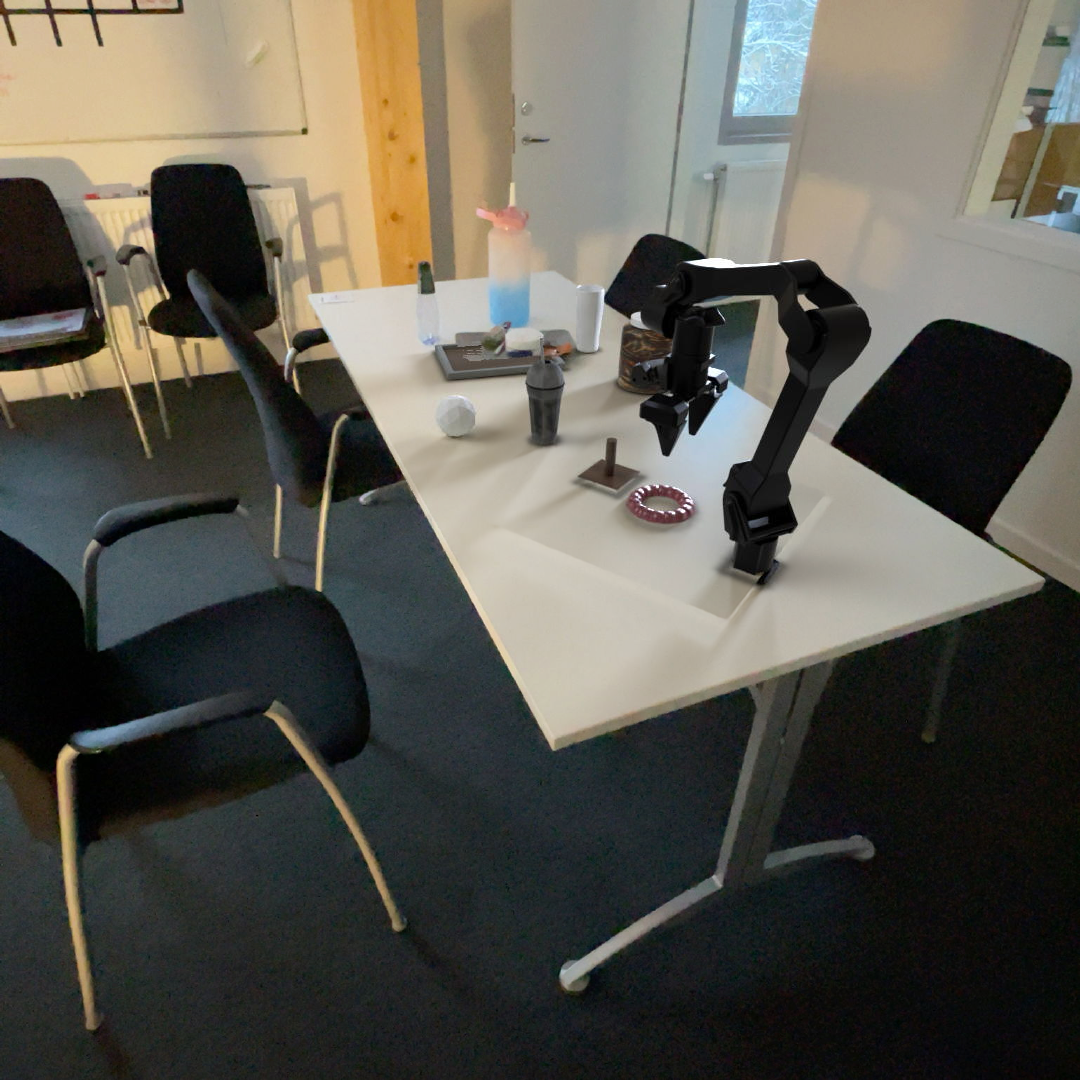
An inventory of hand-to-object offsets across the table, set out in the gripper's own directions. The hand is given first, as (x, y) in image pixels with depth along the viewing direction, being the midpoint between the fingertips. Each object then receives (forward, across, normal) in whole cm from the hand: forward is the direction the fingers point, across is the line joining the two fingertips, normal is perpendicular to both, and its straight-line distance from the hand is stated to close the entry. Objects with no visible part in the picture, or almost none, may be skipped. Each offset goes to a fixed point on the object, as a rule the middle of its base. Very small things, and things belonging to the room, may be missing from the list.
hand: (679, 445), depth 118 cm
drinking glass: (+10, -53, -50) cm, 74 cm away
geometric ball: (+10, +2, -45) cm, 46 cm away
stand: (+10, 0, -12) cm, 16 cm away
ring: (+9, +4, 0) cm, 10 cm away
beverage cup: (+10, -6, -30) cm, 32 cm away
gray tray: (+10, -35, -62) cm, 72 cm away
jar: (+10, -42, -28) cm, 51 cm away
